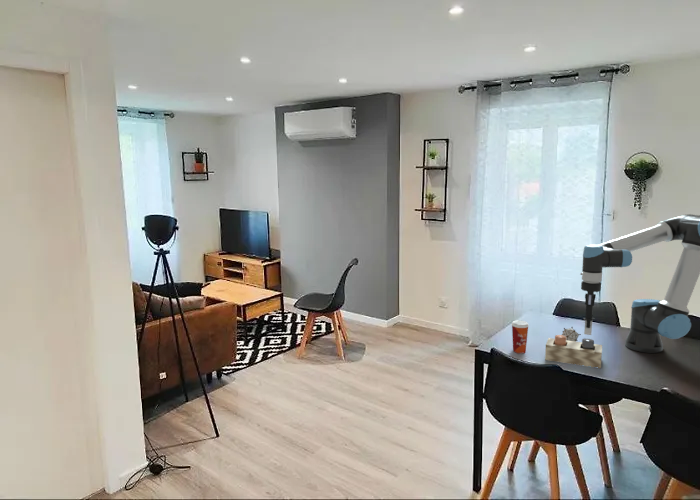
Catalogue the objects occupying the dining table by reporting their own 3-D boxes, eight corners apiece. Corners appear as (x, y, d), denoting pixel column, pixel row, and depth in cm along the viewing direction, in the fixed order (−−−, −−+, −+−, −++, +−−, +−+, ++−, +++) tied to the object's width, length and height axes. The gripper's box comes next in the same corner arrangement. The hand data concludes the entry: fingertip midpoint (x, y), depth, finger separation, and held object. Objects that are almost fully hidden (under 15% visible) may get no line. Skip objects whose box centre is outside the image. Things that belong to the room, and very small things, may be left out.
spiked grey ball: (573, 351, 227) (584, 340, 220) (556, 345, 228) (566, 333, 221) (573, 338, 233) (583, 326, 226) (556, 331, 234) (566, 319, 227)
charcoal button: (593, 351, 205) (594, 339, 205) (593, 355, 201) (593, 342, 201) (581, 349, 208) (582, 337, 207) (581, 353, 204) (581, 341, 203)
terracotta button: (566, 347, 211) (566, 335, 210) (565, 350, 207) (565, 339, 206) (555, 345, 213) (555, 334, 212) (553, 349, 209) (554, 337, 208)
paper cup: (519, 355, 215) (520, 326, 213) (507, 350, 222) (507, 321, 219) (531, 352, 218) (532, 323, 216) (519, 346, 225) (519, 318, 223)
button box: (601, 360, 207) (602, 345, 206) (600, 368, 198) (601, 352, 197) (547, 352, 218) (548, 337, 216) (545, 359, 209) (545, 344, 208)
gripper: (582, 277, 207) (579, 328, 211) (580, 283, 196) (577, 337, 199) (601, 279, 203) (597, 330, 207) (600, 285, 192) (597, 340, 196)
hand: (587, 334), depth 203 cm, fingers closed
